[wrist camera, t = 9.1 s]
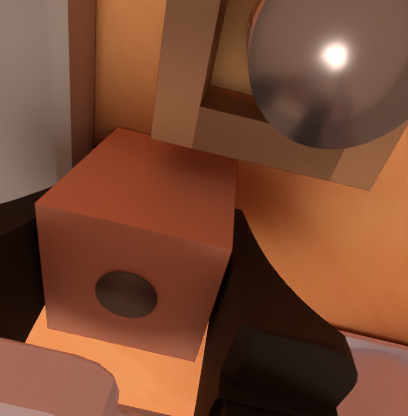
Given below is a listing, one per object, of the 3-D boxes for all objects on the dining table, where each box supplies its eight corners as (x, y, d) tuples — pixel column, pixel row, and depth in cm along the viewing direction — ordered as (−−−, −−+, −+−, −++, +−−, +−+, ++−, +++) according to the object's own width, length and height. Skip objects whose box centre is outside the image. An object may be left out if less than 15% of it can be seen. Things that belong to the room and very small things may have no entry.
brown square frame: (344, 154, 12) (369, 190, 10) (170, 112, 12) (150, 138, 10) (457, -80, 9) (545, -118, 6) (207, -144, 9) (191, -208, 6)
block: (211, 247, 16) (194, 364, 10) (112, 224, 16) (46, 330, 10) (237, 155, 13) (232, 252, 8) (117, 127, 13) (32, 205, 8)
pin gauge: (315, 83, 11) (391, 165, 5) (237, 65, 11) (229, 128, 5) (349, -11, 10) (510, -42, 4) (260, -32, 10) (283, -97, 4)
